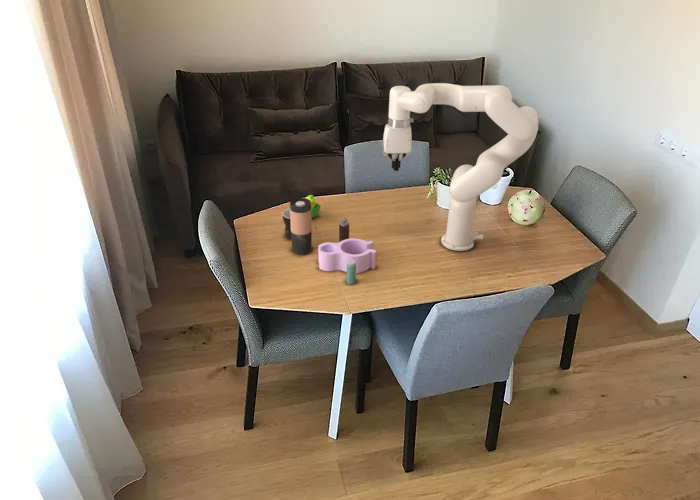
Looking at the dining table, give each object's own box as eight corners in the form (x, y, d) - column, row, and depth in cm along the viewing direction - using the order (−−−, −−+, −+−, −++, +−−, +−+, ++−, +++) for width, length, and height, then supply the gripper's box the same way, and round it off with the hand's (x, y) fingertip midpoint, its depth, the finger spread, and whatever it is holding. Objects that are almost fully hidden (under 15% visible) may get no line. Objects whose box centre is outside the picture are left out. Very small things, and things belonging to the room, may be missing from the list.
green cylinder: (355, 278, 205) (355, 258, 201) (356, 284, 202) (356, 264, 198) (345, 279, 205) (346, 259, 200) (346, 284, 202) (347, 264, 198)
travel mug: (315, 247, 222) (314, 200, 212) (305, 257, 217) (304, 208, 206) (297, 242, 225) (296, 195, 215) (287, 252, 219) (285, 204, 209)
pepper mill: (348, 244, 225) (349, 215, 218) (349, 249, 222) (350, 220, 215) (338, 245, 224) (338, 215, 218) (339, 250, 221) (339, 220, 215)
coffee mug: (301, 242, 225) (301, 219, 220) (280, 240, 227) (279, 217, 221) (309, 228, 235) (309, 206, 230) (288, 225, 236) (288, 203, 231)
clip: (320, 274, 207) (320, 258, 203) (317, 256, 217) (317, 240, 214) (376, 272, 209) (377, 255, 205) (371, 253, 219) (371, 237, 216)
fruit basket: (310, 210, 248) (309, 185, 243) (323, 217, 243) (323, 192, 237) (288, 218, 242) (287, 193, 236) (302, 226, 236) (301, 201, 230)
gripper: (417, 118, 213) (413, 165, 223) (376, 119, 212) (374, 166, 221) (421, 125, 207) (417, 173, 217) (379, 126, 206) (377, 174, 215)
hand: (395, 169), depth 219 cm, fingers closed
